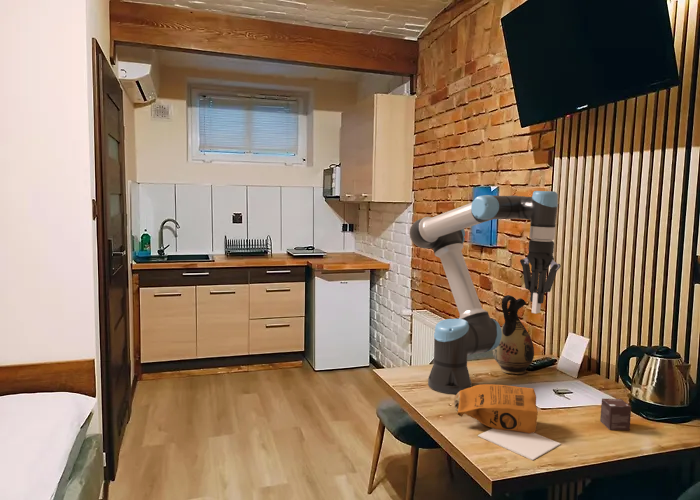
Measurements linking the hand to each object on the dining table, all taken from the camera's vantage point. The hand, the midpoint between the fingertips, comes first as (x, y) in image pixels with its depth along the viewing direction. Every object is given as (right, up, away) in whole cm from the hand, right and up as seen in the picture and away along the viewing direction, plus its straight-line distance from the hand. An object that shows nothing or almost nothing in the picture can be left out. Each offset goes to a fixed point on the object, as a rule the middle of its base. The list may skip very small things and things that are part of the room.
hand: (535, 312), depth 165 cm
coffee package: (-6, -27, -17) cm, 32 cm away
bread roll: (-22, -31, -2) cm, 38 cm away
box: (+19, -32, -13) cm, 40 cm away
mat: (-13, -33, -23) cm, 42 cm away
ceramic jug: (+3, -27, +34) cm, 44 cm away
